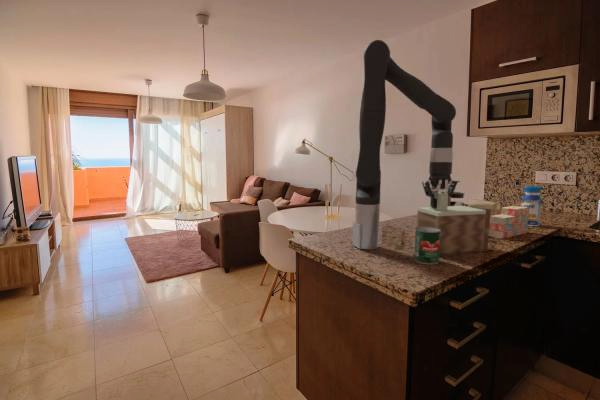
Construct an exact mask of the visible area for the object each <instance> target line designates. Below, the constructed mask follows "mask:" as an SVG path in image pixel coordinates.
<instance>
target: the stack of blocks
mask: <svg viewBox="0 0 600 400" xmlns="http://www.w3.org/2000/svg"><path fill="white" fill-rule="evenodd" d="M528 216H529V207H521V205H519V206H518V205H508V206H504V207H501V211H500V214H495V215H494V214H493V215H490V225H489V237H492V238H497V239H501V238H502V239H503V240H504V239H507V238H508V237H509V238H513V237H516V236H519V235H525V234H527V233H528V226H527V225H528ZM512 236H513V237H512Z"/></svg>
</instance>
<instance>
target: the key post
mask: <svg viewBox="0 0 600 400" xmlns="http://www.w3.org/2000/svg"><path fill="white" fill-rule="evenodd" d="M466 207H471V208H476V209H481V210H486V218H485V231H484V245H483V252H485V251H488V247H489V237H490V236H489V225H490V217H491V211H492V210H491V209H485V208H480V207H475V206H470V205H468V206H466Z"/></svg>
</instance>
